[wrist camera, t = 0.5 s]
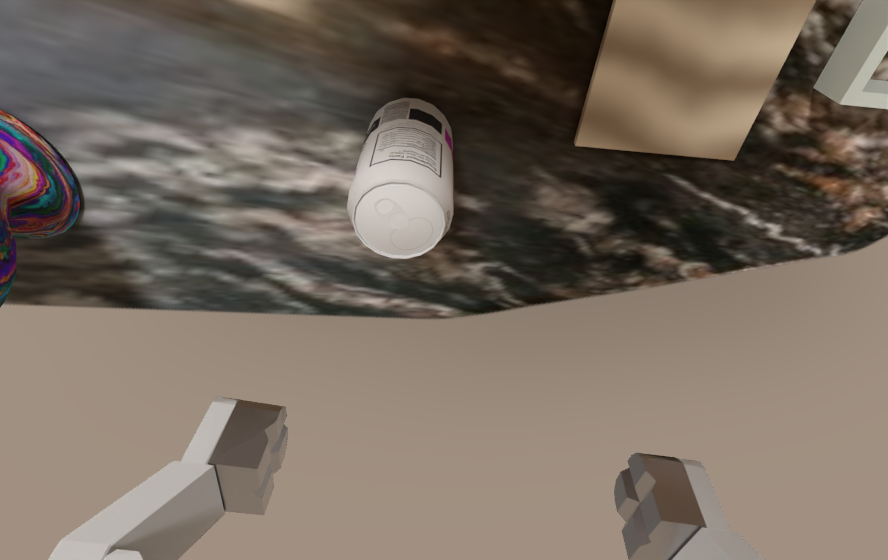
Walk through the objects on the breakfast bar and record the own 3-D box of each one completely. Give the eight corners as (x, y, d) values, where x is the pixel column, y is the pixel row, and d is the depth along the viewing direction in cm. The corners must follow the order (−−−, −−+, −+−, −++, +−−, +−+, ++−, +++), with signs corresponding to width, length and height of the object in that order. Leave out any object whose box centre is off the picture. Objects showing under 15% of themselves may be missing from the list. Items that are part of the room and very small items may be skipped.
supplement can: (469, 144, 49) (474, 231, 38) (405, 188, 53) (392, 280, 41) (417, 77, 45) (406, 151, 34) (351, 128, 48) (321, 213, 37)
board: (627, -51, 39) (630, -49, 38) (823, -28, 40) (829, -27, 39) (573, 142, 49) (575, 145, 48) (730, 156, 50) (733, 160, 49)
